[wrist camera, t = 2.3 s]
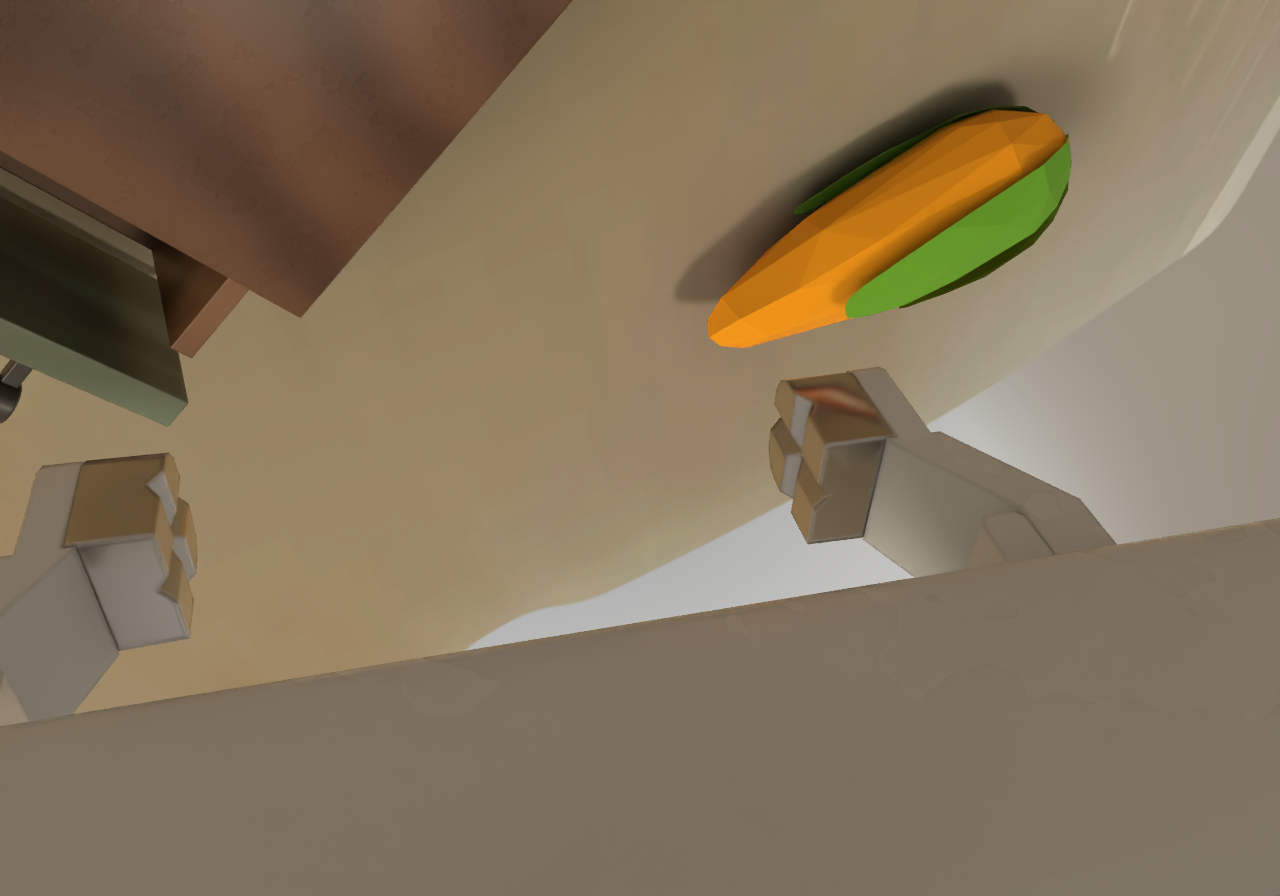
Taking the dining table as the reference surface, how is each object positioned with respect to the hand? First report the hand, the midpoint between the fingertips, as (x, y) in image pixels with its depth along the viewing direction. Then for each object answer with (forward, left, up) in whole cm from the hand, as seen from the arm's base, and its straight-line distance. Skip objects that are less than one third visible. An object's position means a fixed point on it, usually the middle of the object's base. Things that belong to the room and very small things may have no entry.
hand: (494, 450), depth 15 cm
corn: (+31, +8, -30) cm, 44 cm away
